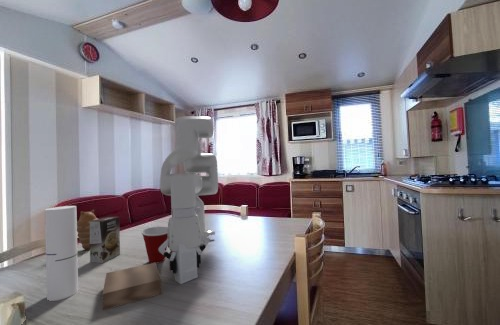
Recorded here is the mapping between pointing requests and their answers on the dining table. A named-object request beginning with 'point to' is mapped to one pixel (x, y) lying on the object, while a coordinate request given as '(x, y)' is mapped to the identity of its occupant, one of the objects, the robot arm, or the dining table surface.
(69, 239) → the cylindrical container
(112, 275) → the walnut base
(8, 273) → the dining table surface
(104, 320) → the dining table surface
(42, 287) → the dining table surface
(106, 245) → the coffee box
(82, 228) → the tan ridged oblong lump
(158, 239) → the plastic cup
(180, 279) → the skincare box
